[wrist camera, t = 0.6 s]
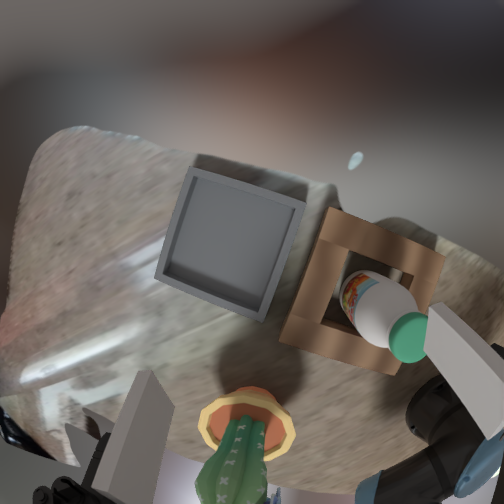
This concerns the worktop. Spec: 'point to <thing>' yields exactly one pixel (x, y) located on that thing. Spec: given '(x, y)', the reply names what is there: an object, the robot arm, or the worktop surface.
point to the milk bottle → (385, 314)
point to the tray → (228, 242)
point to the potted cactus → (242, 446)
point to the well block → (326, 276)
